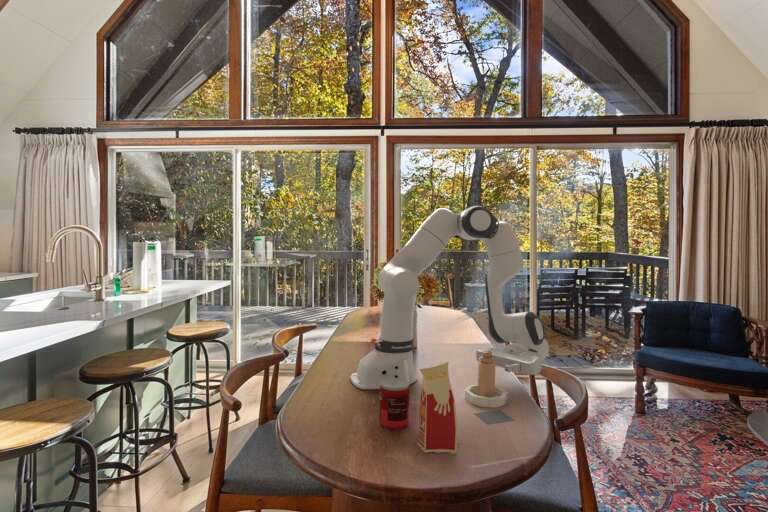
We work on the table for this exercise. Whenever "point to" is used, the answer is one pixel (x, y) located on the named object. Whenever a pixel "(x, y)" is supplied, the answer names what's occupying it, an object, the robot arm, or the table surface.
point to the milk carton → (437, 411)
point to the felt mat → (494, 417)
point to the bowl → (495, 401)
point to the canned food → (394, 403)
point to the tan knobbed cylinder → (486, 375)
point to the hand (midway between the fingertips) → (493, 365)
